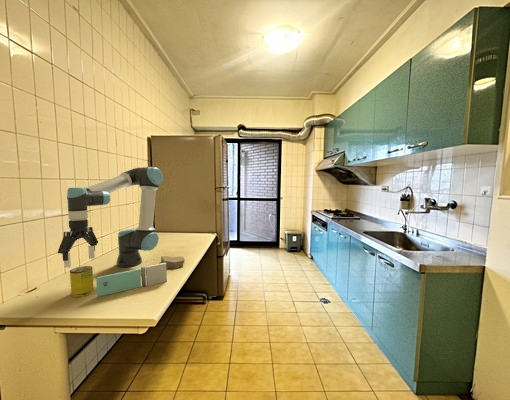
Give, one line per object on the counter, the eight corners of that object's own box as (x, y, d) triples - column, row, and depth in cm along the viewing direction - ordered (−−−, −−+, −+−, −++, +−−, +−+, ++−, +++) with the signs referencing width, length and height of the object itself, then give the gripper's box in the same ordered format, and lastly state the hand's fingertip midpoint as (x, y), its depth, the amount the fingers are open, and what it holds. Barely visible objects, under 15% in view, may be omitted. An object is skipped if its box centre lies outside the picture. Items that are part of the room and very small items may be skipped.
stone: (184, 268, 153) (184, 262, 153) (158, 270, 149) (158, 263, 149) (184, 260, 170) (184, 254, 170) (161, 261, 166) (161, 255, 166)
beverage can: (96, 288, 125) (95, 265, 124) (88, 295, 116) (87, 271, 115) (77, 289, 123) (75, 266, 122) (67, 298, 114) (65, 273, 114)
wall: (123, 289, 124) (122, 269, 123) (165, 279, 136) (164, 261, 135) (124, 291, 121) (124, 271, 120) (166, 281, 133) (166, 263, 132)
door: (97, 295, 116) (96, 277, 115) (140, 285, 127) (139, 268, 126) (97, 298, 113) (96, 279, 112) (141, 287, 124) (141, 270, 123)
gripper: (92, 215, 130) (94, 254, 131) (45, 223, 105) (48, 271, 107) (105, 216, 129) (106, 255, 130) (60, 223, 104) (63, 272, 105)
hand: (80, 262), depth 118 cm, fingers open, 13 cm apart
